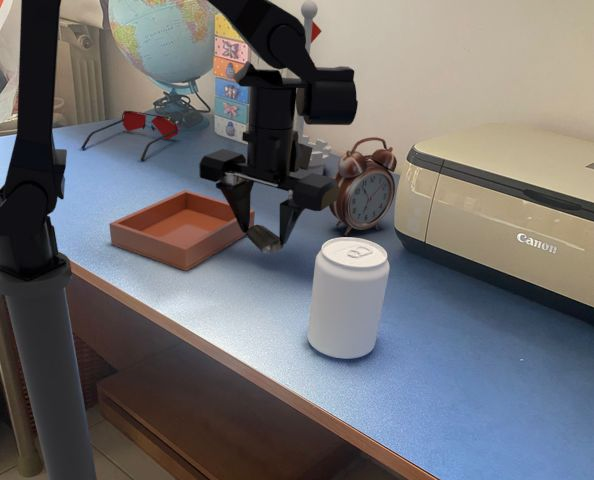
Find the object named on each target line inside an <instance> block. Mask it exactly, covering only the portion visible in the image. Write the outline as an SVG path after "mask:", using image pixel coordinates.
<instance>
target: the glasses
mask: <svg viewBox="0 0 594 480" xmlns="http://www.w3.org/2000/svg"><path fill="white" fill-rule="evenodd" d="M147 116H151V117H152V116H153V117H154V118H153V119H151V121H150V122H151V123H152V124H153V125H150V128H151V130H152V131H153V132H155V131H156V130H158V132H159V133H160V135H161V136H159V137H157V138H156V139H153V140H151V141H150V142H148V143H147V145H145V148H144V150H143V153H142V155H141V157H140V161H141V162H143V161H144V160H145V157H146V155H147V152H148V150H149V148H150V146H151V145H152V144H154V143H156V142H158V141H160V140H162V139H164V140H166V141H167V140H169V139H171V138H173V137H176V136H178V134H179V131H180V127H179V125H177V123H176V122H175V121H174V119H173V118H170V117H167V116H162V115H161V114H158V115H157V114H151V113H146V112H142V111H140V112H139V111H133V110H124V111H123V112H122V114H121V119H119V120H118V121H116V122H113V123H110V124H108V125H106V126H103V127H101V128H98V129H96V130H93V131H92V132H90V133H89V134H88V136H87V137H86V139H85V141H84V142H83V144H82V146H81V150H85V148H86V146H87V144H88V143H89V141H90V139H91V138H92V136H94V134H96V133H99V132H101V131H103V130H106V129H109V128H111V127H113V126H115V125H118V124H120V123H122V126H123V127H124V129H125V130H126V132H130V131H136V130H139V129H142V130H144V129H145V128H146V121H147Z"/></svg>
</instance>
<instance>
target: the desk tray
mask: <svg viewBox="0 0 594 480" xmlns="http://www.w3.org/2000/svg"><path fill="white" fill-rule="evenodd" d="M255 214H256V212H255V210H254V209H252V208H250V224H249V228H250V227H251V226H254V225H255ZM108 225H109V234H110V244H111V245H112V246H116V247H117V248H121V249H123V250H126V251H129V252H130V253H131V252H132V253H134V254H137V255H140V256H142V257H146V258H148V259H150V260H153V261H157V262H160V263H162V264H165V265H168V266H170V267H173V268H175V269H179V270H182V271H185V272H188V271H189V270H191V269H192V268H194V267H196V266H198V265H199V264H201V263H203V262H204V261H206V260H208V259H209V258H210V257H212V256H214V255H215V254H217V253H219V252H220V251H222V250H223V249H226V248H227V247H228V246H230V245H231V244H234V243H235V242H237V241H238V240H240V239H242V238H243V237H246V233H243V232H242V230H241V228H240V226H239V224H238V222H237V220H236V217H235V215H234V213H233V211H232V209H231V207H230V205H229V203H228V202H227V201H224V200H220V199H217V198H214V197H211V196H207V195H204V194H201V193H197V192H194V191H191V190H187V189H184V190H181V191H179V192H177V193H175V194H172V195H170V196H168V197H166V198H164V199H161V200H159V201H156V202H154V203H152V204H150V205H147V206H145V207H143V208H141V209H138V210H136V211H134V212H132V213H129V214H127V215H125V216H123V217H120V218H119V219H116V220H113V221H111V222H109V224H108Z"/></svg>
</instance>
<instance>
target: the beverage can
mask: <svg viewBox="0 0 594 480" xmlns="http://www.w3.org/2000/svg"><path fill="white" fill-rule="evenodd" d="M389 275H390V263H389V260H388V252H387V251H386V249H385V248H384V247H382V246H381V245H379V244H378V243H376V242H374V241H371V240H368V239H365V238H359V237H351V236H350V237H349V236H348V237H347V236H345V237H344V236H343V237H335V238H332V239H329V240H326V241H325V242H324V243H323V244H322V246H321V249H320V250H319V251H318V253H317V254H316V256H315V263H314V271H313V281H312V289H311V298H310V307H309V317H308V324H307V325H308V326H307V327H308V328H307V334H306V336H307V340H308V342H309V344H310V345H311V346H312V347H313V348H314V350H316V351H318V352H320V353H321V354H323V355H325V356H328V357H331V358H335V359H336V358H337V359H346V360H347V359H349V360H350V359H357V358H361V357H364V356H366V355H368V354H369V353H371V352H372V351H373V350H374V348H375V346H376V342H377V336H378V331H379V327H380V323H381V322H380V321H381V316H382V311H383V305H384V300H385V295H386V290H387V285H388V280H389Z"/></svg>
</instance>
